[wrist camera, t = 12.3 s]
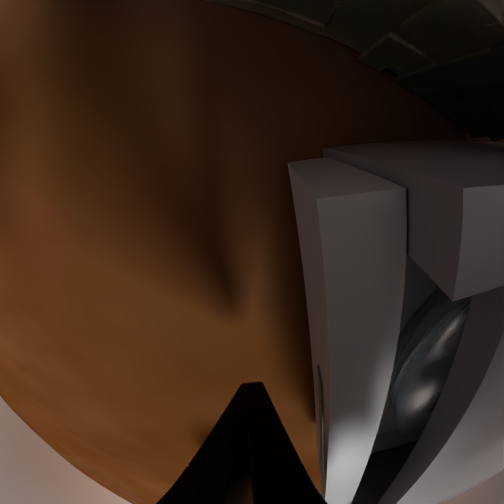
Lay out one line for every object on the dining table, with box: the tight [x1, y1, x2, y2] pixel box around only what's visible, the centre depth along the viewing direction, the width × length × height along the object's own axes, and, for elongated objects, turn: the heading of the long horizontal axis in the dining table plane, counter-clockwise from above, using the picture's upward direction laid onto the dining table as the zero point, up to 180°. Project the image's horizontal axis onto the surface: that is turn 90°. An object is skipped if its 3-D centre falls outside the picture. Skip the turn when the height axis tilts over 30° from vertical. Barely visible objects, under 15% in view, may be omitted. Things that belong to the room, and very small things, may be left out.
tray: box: [287, 157, 439, 504], centre depth 6 cm, size 11×13×4 cm
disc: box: [387, 287, 472, 438], centre depth 7 cm, size 7×7×2 cm
